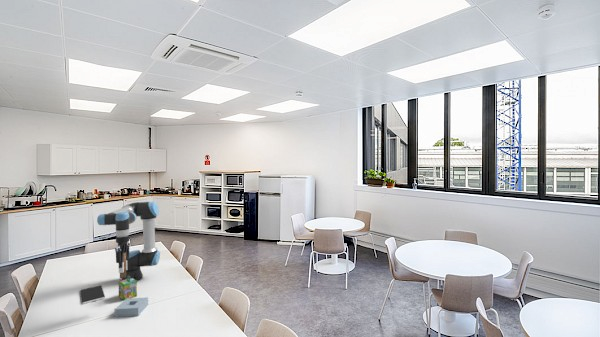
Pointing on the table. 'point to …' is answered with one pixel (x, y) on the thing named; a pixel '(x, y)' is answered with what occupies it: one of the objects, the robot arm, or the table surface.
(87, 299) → the smartphone
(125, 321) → the table surface
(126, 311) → the socket block
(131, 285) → the chalk box
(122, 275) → the dowel
